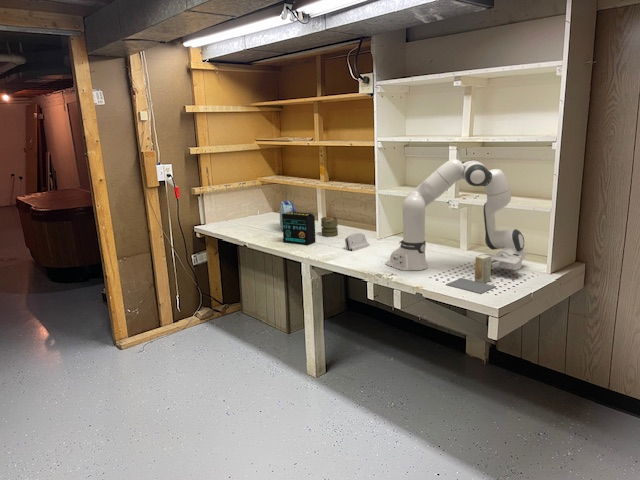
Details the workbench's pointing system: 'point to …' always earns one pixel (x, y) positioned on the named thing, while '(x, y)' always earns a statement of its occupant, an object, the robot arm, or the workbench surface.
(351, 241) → the hinge
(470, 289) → the mat
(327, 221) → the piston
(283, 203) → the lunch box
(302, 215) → the battery
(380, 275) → the workbench surface
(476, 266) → the skincare box
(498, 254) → the robot arm
